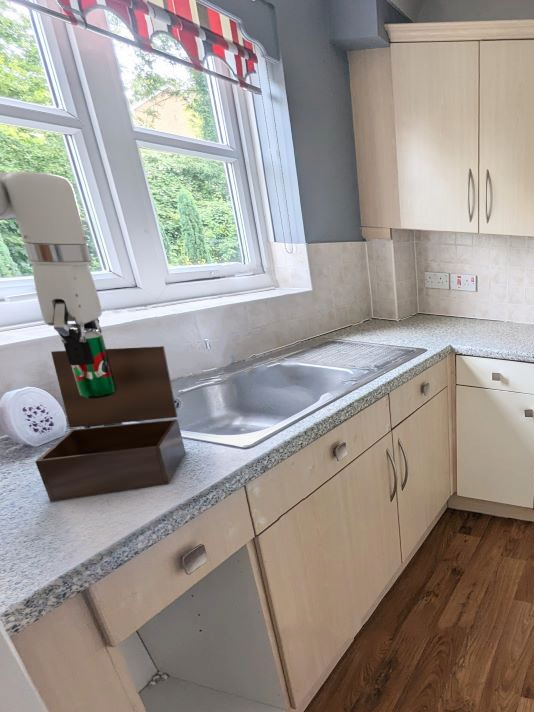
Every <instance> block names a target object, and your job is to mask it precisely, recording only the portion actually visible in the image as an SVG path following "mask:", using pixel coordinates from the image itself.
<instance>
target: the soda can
mask: <svg viewBox="0 0 534 712" xmlns="http://www.w3.org/2000/svg"><path fill="white" fill-rule="evenodd" d="M73 329H74V330H75V331H76V332H77V333H78V331H77V328H73ZM84 330H85V337H86V342H87V341H89V343H90V346H91V350H92V353H93V357H94V361H95V363H94V364H91V365H71V367H72V370H73V373H74V377H75V380H76V384H77V387H78V390H79V394H80V395H81V396H83V397H85V398H102V397H107V396H110V395H112V394H114V393H115V392H116V390H117V388H116V385H115V381H114V377H113V373H112V369H111V366H110V362H109V358H108V354H107V351H106V349H107V347H106V344H105V340H104V336H103V334H102V333H101V334H102V335H101V334H100V333H99V332H98V330H97V329H84Z"/></svg>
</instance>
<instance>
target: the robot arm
mask: <svg viewBox="0 0 534 712" xmlns="http://www.w3.org/2000/svg"><path fill="white" fill-rule="evenodd" d="M5 219H15V220H16V223H17V226H18V230H19V233H20V236H21V240H22V243H23V246H24V249H25V252H26V255H27V259H28V263H29V264H30V265H32V272H33V273H32V274H33V281H34V286H35V292H36V296H37V301H38V304H39V308H40V313H41V317H42V320H43V323H44V324H46V325H47V326H50V327H53V329H54V330H55V331H56V332H57V334H58V335H59V337H60V339H61V343H62V344H63V347H64V351H66V354H67V357H68V360H69V363H70V365H91V364H94V363H95V361H94V357H93V353H92V350H91V346H90V343H89V341H87V342H86V337H85V330H84V329H97V330H98V332H99V333H100V334H101V335H102V336H103V334H102V332H103V331H102V328H101V325H100V320H99V318H100V317H101V316H102V313H103V312H102V311H103V310H102V305H101V302H100V297H99V294H98V290H97V287H96V284H95V282H94V278H93V275H92V273H91V270H90V267H89V266H90V265H93V264H94V262H93V259H92V255H91V252H90V248H89V244H88V240H87V237H86V233H85V228H84V224H83V221H82V217H81V212H80V208H79V204H78V201H77V198H76V194H75V190H74V187H73V184H72V183H71V181H70V180H68V179H67V178H66V177H64V176H61V175H57V174H52V173H51V174H50V173H44V172H33V171H21V170H20V171H19V170H17V171H15V170H13V171H10V172H9V171H8V172H4V171H0V220H5ZM69 322H74V323H69ZM74 329H77V331H78V333H77V332H76V331H75V330H74Z"/></svg>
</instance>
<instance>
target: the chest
mask: <svg viewBox="0 0 534 712" xmlns="http://www.w3.org/2000/svg"><path fill="white" fill-rule="evenodd" d="M185 455H186V448H185V445H184V441H183V436H182V432H181V428H180V423H179V419H178V418H173V419H172V418H171V419H161V420H154V421H153V420H151V421H144V422H143V421H141V422H134V423H132V422H131V423H124V424H123V423H122V425H112V426H102V427H93V428H84V427H82V428H75V429H74V428H72V429H70V430H69V431H68V432H66V434H65V435H63V436H62V437H61V438H60V439H59V440H58V441H56V442H55V443H54V444H53V445H52V446H51V447H50V448H49V449H48V450H46V451H45V452H44V453H43V454H42V455H41V456H40V457H38V458H37V459H36V460H35V461H34V462H35V465H36V467H37V470H38V472H39V476H40V479H41V481H42V484H43V486H44V489H45V492H46V494H47V497H48V499H49V502H57V501H64V500H71V499H77V498H84V497H85V498H86V497H90V496H91V497H92V496H99V495H104V494H110V493H112V494H113V493H117V492H125V491H131V490H138V489H145V488H152V487H157V486H165V485H169V484H171V481H172V479H173V477H174V476H175V473H176V472H177V470H178V468H179V466H180V464H181V462H182V461H183V459H184V456H185Z"/></svg>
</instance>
